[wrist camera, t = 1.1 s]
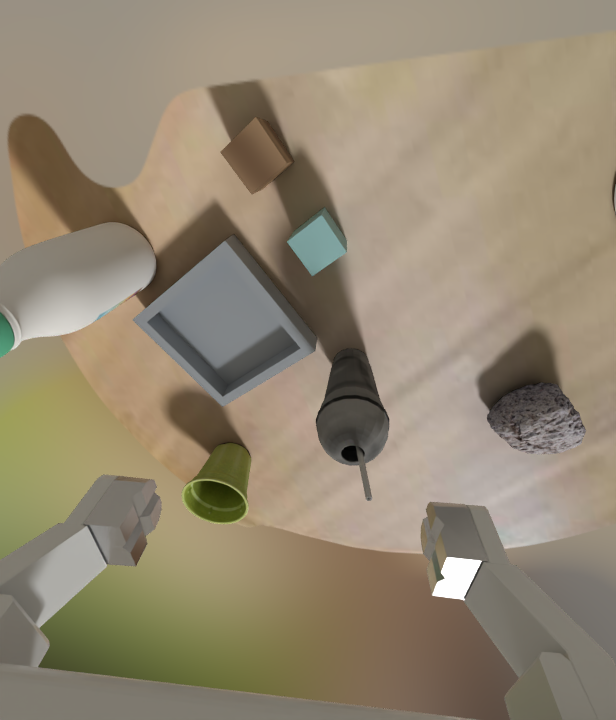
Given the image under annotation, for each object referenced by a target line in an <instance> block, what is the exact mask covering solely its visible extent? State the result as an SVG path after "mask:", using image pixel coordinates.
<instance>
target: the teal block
mask: <svg viewBox="0 0 616 720" xmlns="http://www.w3.org/2000/svg"><path fill="white" fill-rule="evenodd" d="M287 243H288V244H289V246H290V247H291V248H292V250H293V251H294V252H295V254H296V255H297V256H298V258H299V259H300V260H301V262H302V263H303V264H304V266H305V267H306V268H307V270H308V271H309V273H310V274H311V275H312V276H314V275H315V274H316V273H318V272H319V271H321V270H322V269H323V268H325V267H326V266H328V265H329V264H331V263H332V262H333V261H335V260H336V259H338V258H339V257H340V256H342V255H343V254H345V253H346V252H347V240H346V239H345V237H344V236H343V234H342V233H341V231H340V230H339V228H338V227H337V225H336V223H335V222H334V220H333V219H332V217H331V216H330V214H329V213H328V211H327V210H326V208H325V207H324V208H323V209H322V210H320V211H319V212H318V213H317V214H315V215H314V216H313V217H311V218H310V219H309V220H308V221H306V222H305V223H304V224H303V225H301V226H300V227H299V228H297V229H296V230H295V231H294V232H293V233H292V235H291V236H290V238H289V239H288V241H287Z"/></svg>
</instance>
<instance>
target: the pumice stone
mask: <svg viewBox="0 0 616 720" xmlns="http://www.w3.org/2000/svg"><path fill="white" fill-rule="evenodd" d="M487 421H488V422H489V423H490V426H491V428H492V429H493V430H494V431H495V432H496V433H497V434H498V435H499V436H500V437H501V438H503V439H504V440H505V441H507V443H509V444H510V446H511V447H512V448H514V449H518V450H519V451H522V452H523V451H524V452H526V453H531V454H533V453H535V454H555V453H560V452H564V451H566V450H569V449H572V448H574V447H576V446H578V445H580V444H581V443H582V439H583V437H584V435H585V432H586V430H585V428H584V426H583V424H582V421H581V418H580V415H579V412H577V411H576V410H575V409H574V406H573V405H572V404H571V402H570V400H569V398H567V397H566V396H565V395H564V394H563V392H562V391H561V389H560V388H559V386H558V385H557V384H552V383H538V384H537V385H527V386H524V387H522V388H520V389H516V390H514V391H512V392H511V393H508V394H506V395H505V396H503V397H502V398H501V399H500V400H499V401H498V402H497V403H496V404H495V405H494V406H493V407H492V409H491V410H490V412H489V414H488V415H487Z"/></svg>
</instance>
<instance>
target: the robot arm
mask: <svg viewBox="0 0 616 720" xmlns="http://www.w3.org/2000/svg"><path fill="white" fill-rule="evenodd" d="M614 204H615V212H616V186H615V194H614ZM156 488H157V486H156V484H155V481H154V480H152V479H143V478H133V477H124V476H114V475H102V476H101V477H99V478H98V479H97V480H96V481H95V483H94V484H93V485H92V487H91V488H90V489H89V490H88V492H87V493H86V494H85V496H84V497H83V498H82V500H81V501H80V502H79V504H78V505H77V506H76V508H75V509H74V510H73V512H72V513H71V514H70V516H69V517H68V518H67V520H66V521H65V522H64V523H58V524H57V525H55V526H53V527H52V528H50V529H49V530H47V531H45V532H44V533H42V534H41V535H39V536H37V537H36V538H34V539H33V540H31V541H29V542H28V543H26V544H25V545H23V546H22V547H20V548H19V549H17V550H15V551H14V552H12V553H11V554H9V555H7V556H6V557H4V558H2V559H1V560H0V720H476V719H468V718H460V717H451V716H443V715H434V714H426V713H418V712H409V711H401V710H393V709H384V708H376V707H367V706H359V705H350V704H342V703H334V702H325V701H317V700H308V699H299V698H291V697H283V696H274V695H265V694H258V693H249V692H241V691H231V690H224V689H215V688H207V687H198V686H190V685H182V684H173V683H165V682H156V681H148V680H139V679H131V678H123V677H114V676H106V675H105V676H104V675H97V674H89V673H80V672H72V671H64V670H55V669H46V668H38V665H39V664H40V662H41V660H42V658H43V657H44V655H45V653H46V651H47V650H48V648H49V640H48V639H47V637H46V636H45V635H44V634H43V633H42V632H41V630H40V629H39V627H40V626H41V625H43V624H44V623H45V622H46V621H47V620H48V619H49V618H50V617H52V616H53V615H54V614H55V613H56V612H57V611H58V610H59V609H60V608H61V607H62V606H64V605H65V604H66V603H67V602H68V601H69V600H70V599H71V598H73V596H75V595H76V594H77V593H78V592H79V591H80V590H81V589H82V588H84V587H85V586H86V585H87V584H88V583H89V582H90V581H91V580H92V579H93V578H95V577H96V576H97V575H98V574H99V573H100V572H101V571H102V570H103V569H104V568H106V567H107V565H106V564H110V565H125V566H136V565H137V563H138V561H139V559H140V557H141V555H142V553H143V551H144V549H145V547H146V545H147V539H146V535H148V534H149V533H150V532H151V531H153V530H154V529H155V527H156V525H157V523H158V521H159V518H160V513H161V499H160V497H159V496H158V495H157V494H156V493H155V489H156ZM426 512H427V516H428V517H426V518H425V519H423V522H422V526H421V544H422V549H423V554H424V555H425V556H426V557H427V559H428V560H429V561H430V562H429V565H428V568H427V574H428V579H429V583H430V588H431V592H432V596H440V597H448V598H456V599H464V602H465V604H466V605H467V606H468V608H469V609H470V611H471V612H472V613H473V615H474V616H475V617H476V619H477V620H478V622H479V623H480V624H481V626H482V627H483V628H484V630H485V631H486V633H487V634H488V635H489V637H490V638H491V640H492V641H493V642H494V644H495V645H496V647H497V648H498V649H499V651H500V652H501V654H502V655H503V656H504V658H505V659H506V660H507V662H508V663H509V665H510V666H511V667H512V669H513V670H514V671H515V673H516V674H517V676H518V677H519V679H518V681H517V682H516V683H515V684H514V685H513V686H512V688H511V689H510V690H509V691H508V692H507V694H506V696H505V697H504V699H505V703H506V706H507V710H508V713H509V716H510V720H616V665H615V663H614V661H613V659H612V657H611V656H610V655H608V654H607V653H606V652H605V651H604V650H603V649H602V648H601V647H600V646H599V645H598V644H597V643H596V642H595V641H594V640H593V639H592V638H591V637H590V636H589V635H588V634H587V633H586V632H585V631H584V630H583V629H582V628H581V627H580V626H579V625H578V624H577V623H576V622H574V621H573V620H572V619H571V618H570V617H569V616H568V615H567V614H566V613H565V612H564V611H563V610H562V609H561V608H560V607H559V606H558V605H557V604H556V603H555V602H554V601H553V600H552V599H551V598H550V597H549V596H548V595H546V594H545V593H544V591H543V590H541V589H540V588H539V587H538V586H537V585H536V584H535V583H534V582H533V581H532V580H531V579H530V578H529V577H528V576H527V575H526V574H525V573H524V572H523V571H522V570H521V569H520V568H519V567H518V566H517V565H511V564H510V562H509V559H508V557H507V554H506V552H505V550H504V547H503V545H502V543H501V540H500V538H499V535H498V533H497V531H496V528H495V526H494V523H493V521H492V519H491V516H490V514H489V512H488V510H487V509H486V507H485V506H475V505H465V504H454V503H439V502H430V503H429V504H428V506H427V509H426Z"/></svg>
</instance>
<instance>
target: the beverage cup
mask: <svg viewBox="0 0 616 720" xmlns="http://www.w3.org/2000/svg"><path fill="white" fill-rule="evenodd" d="M316 426H317V432H318V437H319V441H320V443H321V445H322V447H323V448H324V450H325V451H326V453H327V454H328V455H329V456H331V457H332V458H333V459H334V460H336V461H338V462H340V463H342V464H346V465H359V466H360V471H361V476H362V481H363V486H364V491H365V497H366V500H367V501H371V500H372V495H371V490H370V485H369V481H368V476H367V471H366V466H365V463H367V462H369V461H371V460H373V459H374V458H375V457H376V456H377V455H378V454H379V453H380V452H381V451H382V450H383V447H384V445H385V443H386V441H387V438H388V431H389V417H388V415H387V412H386V410H385V409H384V407H383V405H382V403H381V401H380V398H379V395H378V391H377V387H376V384H375V380H374V377H373V373H372V369H371V366H370V364H369V361H368V358H367V356H366V355H365V354H364V353H363V352H361V351H360V350H357V349H345V350H342V351H341V352H339V353H338V354H337V355H336V357H335V358H334V362H333V364H332V368H331V372H330V377H329V381H328V385H327V390H326V394H325V399H324V401H323V403H322V406H321V408H320V410H319V412H318V415H317V418H316Z"/></svg>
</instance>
